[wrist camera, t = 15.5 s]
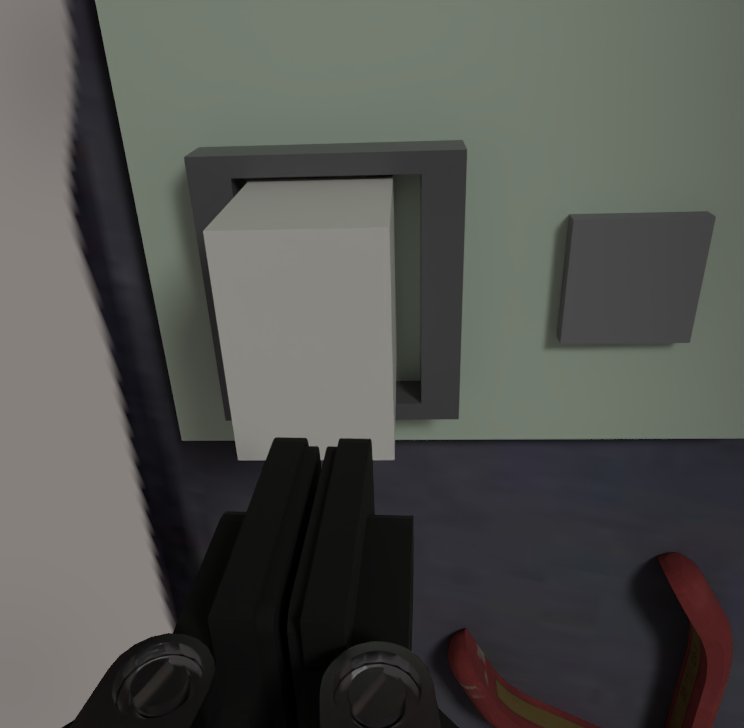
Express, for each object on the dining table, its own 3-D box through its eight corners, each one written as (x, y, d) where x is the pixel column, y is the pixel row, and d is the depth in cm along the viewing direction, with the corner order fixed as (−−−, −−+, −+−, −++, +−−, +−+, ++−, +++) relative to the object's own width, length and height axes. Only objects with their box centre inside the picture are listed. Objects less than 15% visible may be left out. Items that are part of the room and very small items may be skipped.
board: (970, -474, 14) (1034, -529, 13) (737, 422, 24) (758, 448, 23) (32, -407, 15) (-6, -449, 14) (189, 425, 25) (176, 450, 24)
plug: (393, 168, 20) (389, 227, 14) (396, 374, 23) (395, 485, 17) (257, 172, 20) (202, 231, 14) (279, 375, 23) (241, 485, 18)
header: (462, 139, 19) (467, 149, 18) (455, 410, 23) (458, 434, 22) (198, 147, 19) (184, 157, 18) (238, 412, 24) (227, 436, 22)
